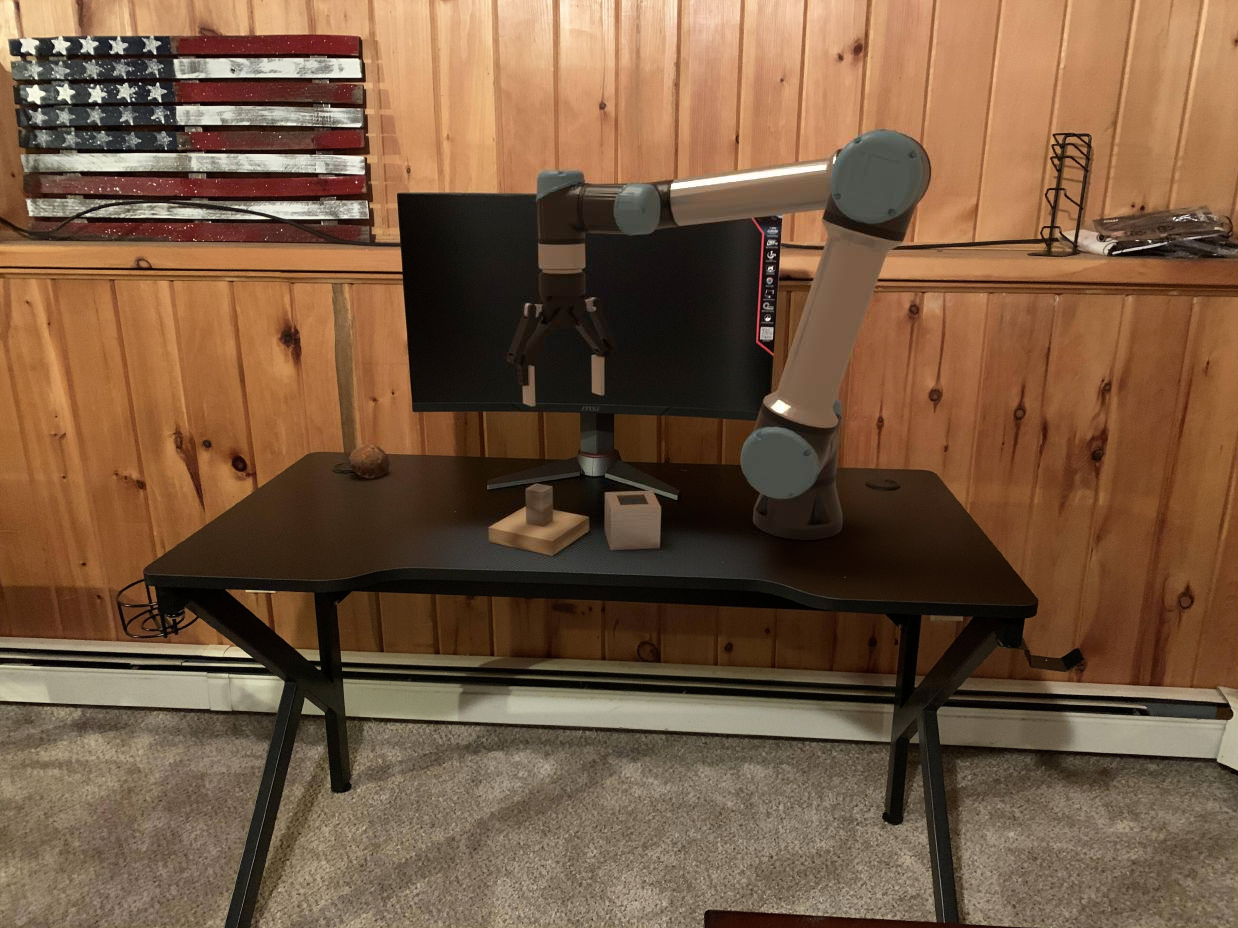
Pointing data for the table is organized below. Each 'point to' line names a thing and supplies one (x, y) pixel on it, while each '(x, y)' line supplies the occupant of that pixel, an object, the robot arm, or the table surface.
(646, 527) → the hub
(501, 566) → the table surface
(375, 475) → the brown round lump
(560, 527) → the block
